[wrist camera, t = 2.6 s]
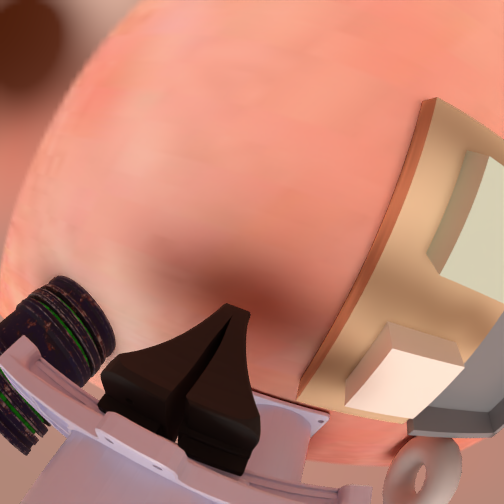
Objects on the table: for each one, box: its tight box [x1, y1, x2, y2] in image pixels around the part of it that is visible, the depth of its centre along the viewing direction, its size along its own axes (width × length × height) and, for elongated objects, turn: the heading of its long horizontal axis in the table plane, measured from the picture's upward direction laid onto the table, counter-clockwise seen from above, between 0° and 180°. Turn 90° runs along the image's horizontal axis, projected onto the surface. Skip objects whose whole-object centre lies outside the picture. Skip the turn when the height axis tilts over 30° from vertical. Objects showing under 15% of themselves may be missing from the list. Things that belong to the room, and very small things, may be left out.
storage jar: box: [0, 276, 115, 456], centre depth 17 cm, size 10×10×15 cm
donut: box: [383, 436, 462, 504], centre depth 15 cm, size 10×4×10 cm, turn 166°
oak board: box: [296, 97, 504, 424], centre depth 13 cm, size 19×9×2 cm, turn 166°
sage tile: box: [426, 150, 504, 304], centre depth 8 cm, size 5×5×2 cm
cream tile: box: [344, 321, 465, 419], centre depth 13 cm, size 5×5×2 cm
